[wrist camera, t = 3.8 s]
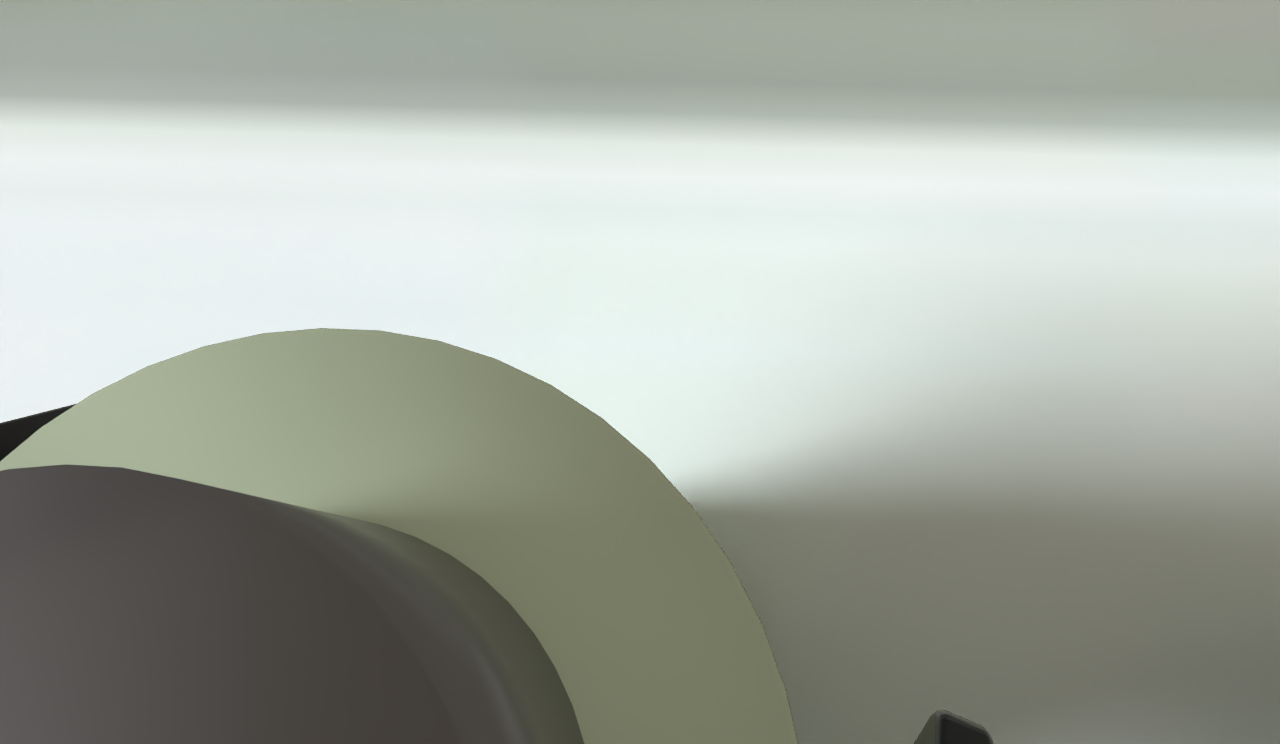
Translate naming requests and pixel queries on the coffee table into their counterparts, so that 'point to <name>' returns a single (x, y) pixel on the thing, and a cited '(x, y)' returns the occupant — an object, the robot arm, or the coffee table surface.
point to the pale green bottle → (362, 563)
